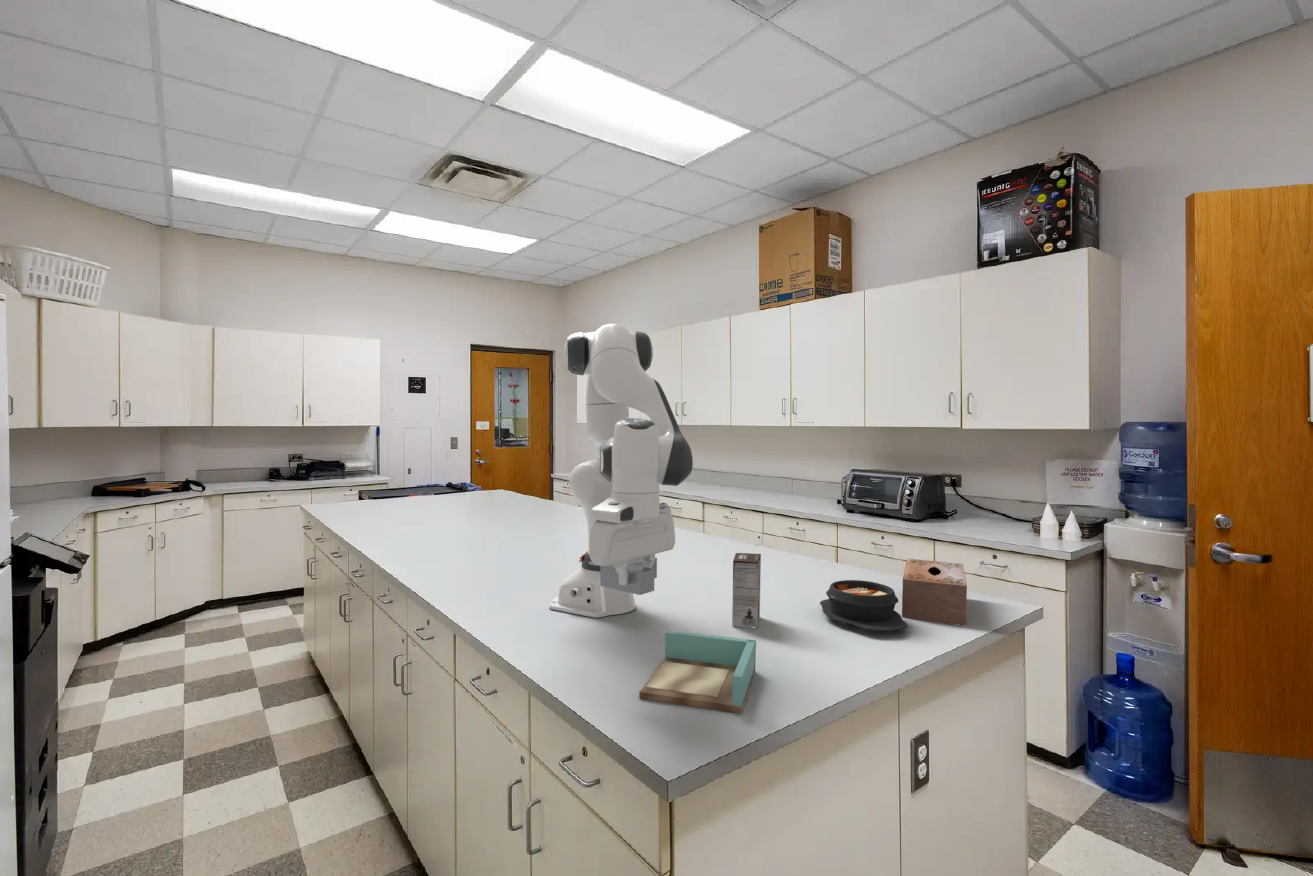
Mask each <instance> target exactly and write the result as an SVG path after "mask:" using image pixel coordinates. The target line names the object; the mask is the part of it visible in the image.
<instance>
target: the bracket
mask: <svg viewBox="0 0 1313 876" xmlns="http://www.w3.org/2000/svg"><path fill="white" fill-rule="evenodd" d="M643 560H644V559H642V557H641V558H637V559H633V560H629V561H628V566H627V567H626V570H627V573H628V574H630V575H631V584H628V585H620V584H619V575H618V573H617V571H616V569H615V567H614V564H613V565H609V566H601V565H600V586H603V587H608V588H612V589H616V590H620V591H625V592H629V593H633V595H637V596H642V595H645V594H648V593H651V592H655V579H657V578H658V558H657V557H655V561H654V563H653V565H652V568H646V567H642V564H643Z"/></svg>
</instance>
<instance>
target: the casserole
mask: <svg viewBox="0 0 1313 876" xmlns="http://www.w3.org/2000/svg"><path fill="white" fill-rule="evenodd" d="M825 594H826V596H827V597H828V598H827V599H823V600H821V601H820V602H819V604H820V606H821V607H822V613H823V614H824V615H826V616H827V617H828V618H829V619H832V620H834V621H837V622H840V623H842V624H845V625H847V626H851V627H856V628H859V629H862V630H866V631H874V632H894V631H900V630H903V629H906V628H908V623H907V622H906V621H904V619H903V617H902V614H900V613H898V612H897V610H895V607H896V604H898V602H899V598H898V596H896V592H895V590H894V589H893V588H892V587H890V586H889V585H888V586H887V585H886V584H883V583H879V582H875V581H868V580H858V579H846V580H845V579H844V580H838V581H833V582H832V583H831V584H830V585H829V588H828V590H827V591H825Z"/></svg>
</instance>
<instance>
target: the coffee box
mask: <svg viewBox="0 0 1313 876" xmlns="http://www.w3.org/2000/svg"><path fill="white" fill-rule="evenodd" d="M761 556H762V554H761V553H752V552H751V553H749V552H736V553H735V554H734V558H733V559H732V560H733V561H732V605H731V606H732V608H731V609H732V612H731V614H732V615H731V616H732V617H731V618H732V619H731V620H732V621H731V622H732V623H731V625H732V627H733V626H736V627H735V628H745V627H755V628H754V629H758V628H759V624H760V618H761V615H760V613H761V612H760V611H761V610H760V609H761V569H762V567H761V566H762V564H761V563H762V562H761V560H762V558H761Z"/></svg>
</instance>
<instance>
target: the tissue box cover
mask: <svg viewBox="0 0 1313 876" xmlns="http://www.w3.org/2000/svg"><path fill="white" fill-rule="evenodd" d="M966 579H967V578H966V575H965V568H964V564H963V563H961V562H960V563H958V562H947V561H937V560H936V561H935V560H929V559H928V560H927V559H917V558H907V559H906V563H905V567H904V572H903V577H902V590H901V591H902V595H901V596H902V599H901V603H902V604H901V617H902V618H904V619H911V620H913V619H914V620H920V621H925V622H926V621H927V622H928V621H929V622H934V623H943V624H948V623H952V624H951V625H955V624H959V625H958V626H963V625H966V626H967V599H968V597H967V596H968V594H967V593H968V590H967V589H968V586H967V580H966Z"/></svg>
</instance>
